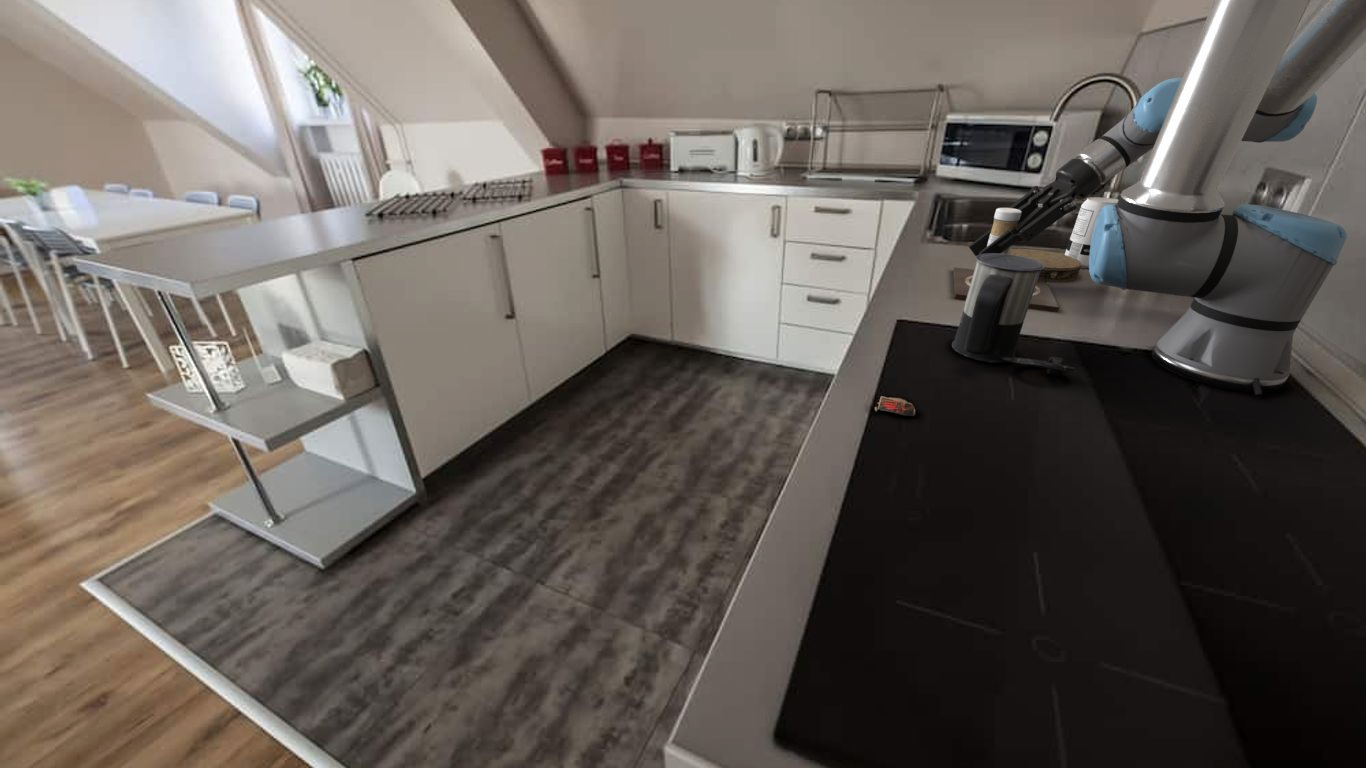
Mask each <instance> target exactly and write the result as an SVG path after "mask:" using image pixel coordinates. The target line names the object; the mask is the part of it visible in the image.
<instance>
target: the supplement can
mask: <svg viewBox="0 0 1366 768" xmlns="http://www.w3.org/2000/svg"><path fill="white" fill-rule="evenodd" d="M1118 200H1119V199H1116V198H1112V197H1111V198H1110V197H1101V196H1100V197H1099V196H1098V197H1097V196H1094V197H1093V196H1091V197H1086V200H1085V201H1083V203H1082V204H1081V205H1080V208H1079V211H1078V215H1077V216H1076V217H1077V218H1076V220H1075V223H1074V226H1073V229H1072V232H1071V235H1070V237H1069V241H1068V243H1067V247H1066V249H1065V253H1064V255H1066V256H1070V257H1072V258H1075V259H1077V260H1078V261H1080V262H1081V267H1080V269H1089V255H1090V246H1091V240H1092V235H1093V230H1094V226H1095V223H1096V219H1097V217H1098V215H1099V213H1100V210H1101V208H1102V207H1103V206H1106V205H1110V204H1114V205H1116V204H1117V203H1118Z"/></svg>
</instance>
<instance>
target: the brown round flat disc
mask: <svg viewBox="0 0 1366 768" xmlns="http://www.w3.org/2000/svg"><path fill="white" fill-rule="evenodd" d="M1009 255H1014V256H1021V257H1026V258H1030V259H1033V260H1036V261H1038V262H1041V263H1042V264H1043V265H1044V269H1042V270H1041V271H1040V274H1039V277H1042V278H1044V279H1045V281H1046V282H1055V283H1057V282H1058V283H1060V282H1062V283H1063V282H1070V281H1074V280H1076V279H1077V278H1078V275H1079V273H1080V270H1081V268H1080V267H1081V262H1080V261H1078V260H1077V259H1075V258H1072V257H1070V256H1066V255H1065V254H1064V253H1063V254H1062V253H1058V252H1054V251H1047V250H1042V249H1041V250H1040V249H1031V248H1029V249H1028V248H1011V249H1010V253H1009Z"/></svg>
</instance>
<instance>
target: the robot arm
mask: <svg viewBox="0 0 1366 768" xmlns="http://www.w3.org/2000/svg"><path fill="white" fill-rule="evenodd" d="M1310 3H1311V0H1213V2H1212V4H1211V7H1210V9H1209V12H1208V14H1207V16H1206V18H1205V22H1204V24H1203V27H1202V29H1201V31H1200V34H1199V35H1198V38H1197V41H1196V43H1195V46H1194V48H1193V50H1192V54H1191V56H1190V58H1189V60H1188V62H1187V65H1186V66H1185V67H1186V68H1185V69H1184V73H1183V75H1182V77H1173V78H1168V79H1165V80H1163V81H1161V82H1159V83H1157V84H1156V85H1154V86H1153V87H1152V88H1151V89H1149V90H1148V91H1147V92H1146V93H1145V94H1143V95H1142V96H1141V97H1140V98H1139V100H1138V101H1137V102H1136V104H1135V105H1134V106H1133V108H1132V109H1131V110H1130V111H1129V112H1128V113H1127V114H1126V115H1125V116H1124V117H1123V119H1122V120H1120V121H1119V122H1117V123H1116V125H1114V126H1113V127H1112V128H1110V129H1109V130H1108V131H1107V132H1105V133H1104V134H1103V135H1101V136H1100V137H1098V138H1097V139H1096V140H1094V141H1093V142H1092V143H1090V144H1089V145H1088V146H1086V147H1084V149H1083V150H1081V151H1080V152H1079V153H1077V154H1076V157H1074V158H1070V160H1068V161H1067V162H1066V163H1065V164H1063V165H1062V166H1060V168H1058V169H1057V170H1056V171H1055V179H1054V181H1052V182H1051V183H1049V184H1047V185H1045V186H1044V187H1039V185H1034V186H1033V187H1031V188H1030V190H1029V191H1028V192H1026V194H1024V195H1023V196H1022V197H1020V198H1019V199H1018V200H1017V201H1015V202H1014V203H1013V204H1012V205H1010V206H1009V207H1008V208H1013V209H1018V210H1021V212H1022V213H1021V217H1020V220H1019V221H1018V223H1017V227H1016V228H1013V227H1012V228H1010V230H1011V232H1012V234H1011V232H1010V231H1007V232H1006V233H1004V234H1003V235H1002V236H1000V237H999V238H998V239H996V240H995V241H994V242H992V243H991V244H990V245H988V246H987V244H988V240H989V236H990V233H991V230H992V228H990V229H988V230H987V231H986V232H985V233H984V234H982V235H981V236H980V237H978V238H977V239H976V240H975V241H973V242H972V243H971V244H969V245H968V246H967V247H968V248H969V249H970V251H971V253H973V255H974V256H975V257H976V256H977V255H980V254H985V253H1000V254H1001V253H1002V252H1003V251H1005V250H1006V249H1008V248H1009V247H1010V246H1011V247H1012V246H1013V245H1014V244H1016V243H1017V242H1023V241H1025V242H1030V241H1032V239H1034V238H1036V237H1037V236H1038V235H1040V234H1041V233H1042V232H1044V231H1045V230H1046V229H1049V227H1051V226H1052V225H1054V224H1055V223H1056V222H1058V221H1059V220H1060V219H1061V218H1063V217H1064V216H1066V215H1068V214H1070V213H1071V212H1073V211H1075V210H1077V209H1078V204H1077V203H1076V201H1075V200H1078V201H1082V200H1084V199H1087V198H1088V197H1089V196H1091V195H1092V194H1093V193H1094V192H1096V191H1097V190H1098V189H1100V188H1101V185H1105V184H1106V183H1108V182H1109V181H1110V180H1112V179H1114V178H1116V176H1117V175H1118V174H1120V173H1121V172H1122V171H1123V170H1125V169H1126V168H1127V167H1129V166H1130V165H1131V164H1133V163H1134V162H1136V161H1137V160H1139V159H1140V158H1141V157H1143V156H1145V155H1146V154H1147V153H1148V152H1150V151H1151V152H1150V154H1149V157H1148V159H1147V162H1146V164H1145V166H1144V170H1143V171H1142V173H1141V176H1140V179H1139V180H1138V181H1137V182H1135V183H1134V184H1132V185H1130V186H1129V187H1127V188H1125V189H1123V190H1122V191H1121V193H1120V195H1119V199H1117V200H1118V203H1117V204H1116V205H1114V204H1110V205H1106V206H1103V207H1102V208H1101V210H1100V213H1099V215H1098V217H1097V219H1096V223H1095V226H1094V230H1093V235H1092V240H1091V246H1090V255H1089V268H1088V272H1089V275H1090V278H1091V280H1092V281H1093V282H1095V283H1096V284H1098V285H1102V286H1106V287H1112V288H1119V289H1120V290H1123V291H1126V290H1132V291H1139V292H1146V293H1153V294H1154V293H1155V294H1163V295H1171V296H1173V295H1174V296H1179V297H1188V298H1193V300H1192V301H1191V304H1190V306H1189V307H1188V309H1187V311H1186V312H1185V313H1184V314H1183V315H1182V316H1181V317H1180V318H1179V319H1178V320H1177V321H1176V322H1175V323H1174V324H1173V325H1172V326H1171V327H1170V328H1169V329H1168V330H1167V331H1166V332H1165V333H1164V334H1163V335H1162V337H1160V338H1159V340H1157V341H1156V343H1155V346H1154V348H1153V350H1152V352H1151V357H1152V359H1153V360H1154V361H1155V362H1156V363H1157V364H1159V365H1160V366H1162V367H1163V368H1165V369H1167V370H1168V371H1171V372H1173V373H1175V374H1177V375H1179V376H1181V377H1185V378H1186V379H1190V380H1192V381H1196V382H1199V383H1202V384H1205V385H1210V386H1213V387H1218V388H1221V389H1227V390H1234V391H1239V392H1240V391H1241V392H1248V393H1249V392H1250V393H1254V395H1255V396H1262V395H1264V394H1263V393H1269V392H1276V391H1279V390H1280V389H1281V388H1283V387H1284V385H1285V383H1286V381H1287V380H1288V378H1289V376H1290V371H1291V369H1290V368H1291V360H1292V350H1293V339H1294V334H1295V331H1296V330H1297V328H1298V327H1299V325H1300V322H1301V321H1302V319H1303V317H1304V316H1305V315H1306V313H1307V311H1308V309H1309V307H1310V306H1311V305H1312V303H1313V300H1314V299H1315V297H1316V296H1317V294H1318V292H1319V291H1320V289H1321V287H1322V286H1323V284H1324V282H1325V281H1326V279H1327V277H1328V276H1329V274H1330V272H1331V270H1332V269H1333V267H1334V266H1336V265H1337V263H1338V261H1337V260H1338V259H1339V257H1340V254H1341V252H1342V249H1343V247H1344V245H1345V243H1346V241H1347V239H1348V233H1347V231H1346V229H1345V228H1344V227H1343V226H1341V225H1340V224H1338V223H1335V222H1333V221H1330V220H1327V219H1324V218H1319V217H1316V216H1312V215H1308V214H1303V213H1299V212H1295V211H1290V210H1286V209H1281V208H1276V207H1271V206H1265V205H1259V204H1251V203H1242V204H1239V205H1238V206H1237V207H1236V208H1235V209H1233V210H1232V214H1221V213H1222V212H1223V210H1224V208H1225V205H1226V204H1225V201H1224V200H1223V198H1222V196H1221V194H1220V193H1219V190H1218V189H1219V187H1220V185H1221V183H1222V181H1223V179H1224V176H1225V174H1226V173H1227V171H1228V169H1229V166H1230V165H1231V163H1232V161H1233V159H1234V156H1235V154H1236V152H1237V150H1238V148H1239V146H1240V145H1241V142H1248V143H1249V142H1250V143H1256V144H1257V143H1258V144H1260V143H1265V142H1272V143H1276V142H1281V143H1283V142H1287V141H1290V140H1292V139H1294V138H1296V137H1297V136H1298V135H1299V134H1301V132H1302V131H1304V129H1305V127H1306V125H1307V124H1308V123H1309V122H1310V120H1311V119H1312V118H1313V115H1314V113H1315V110H1316V107H1317V103H1318V96H1317V94H1316V92H1317V91H1319V89H1320V88H1321V87H1322V86H1323V85H1324V84H1325V83H1326V82H1327V81H1328V80H1329V79H1330V78H1332V76H1334V74H1335V73H1336V72H1337V71H1338V70H1339V69H1340V68H1341V67H1343V65H1344V64H1345V63H1347V62H1348V60H1349V59H1350V58H1352V56H1353V55H1355V53H1357V51H1358V50H1360V49H1361V48H1362V46H1364V44H1365V43H1366V0H1318V1H1317V2H1316V3H1315V4H1314V5H1313V7H1312V8H1311V9H1310V10H1309V11H1308V13H1307V14H1306V15H1305V12H1306V11H1307V9H1308V7H1309V4H1310ZM1304 15H1305V16H1304ZM1303 16H1304V18H1303ZM1302 18H1303V19H1302Z"/></svg>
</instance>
